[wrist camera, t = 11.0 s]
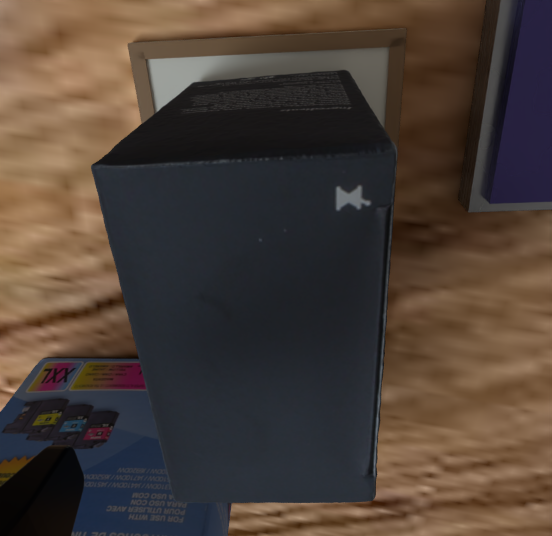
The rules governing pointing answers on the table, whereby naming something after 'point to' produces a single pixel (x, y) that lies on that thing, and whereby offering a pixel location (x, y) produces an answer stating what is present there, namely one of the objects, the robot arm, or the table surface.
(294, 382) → the box
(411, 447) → the table surface
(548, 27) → the ink pad
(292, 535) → the table surface
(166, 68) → the card
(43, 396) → the ink cartridge box
